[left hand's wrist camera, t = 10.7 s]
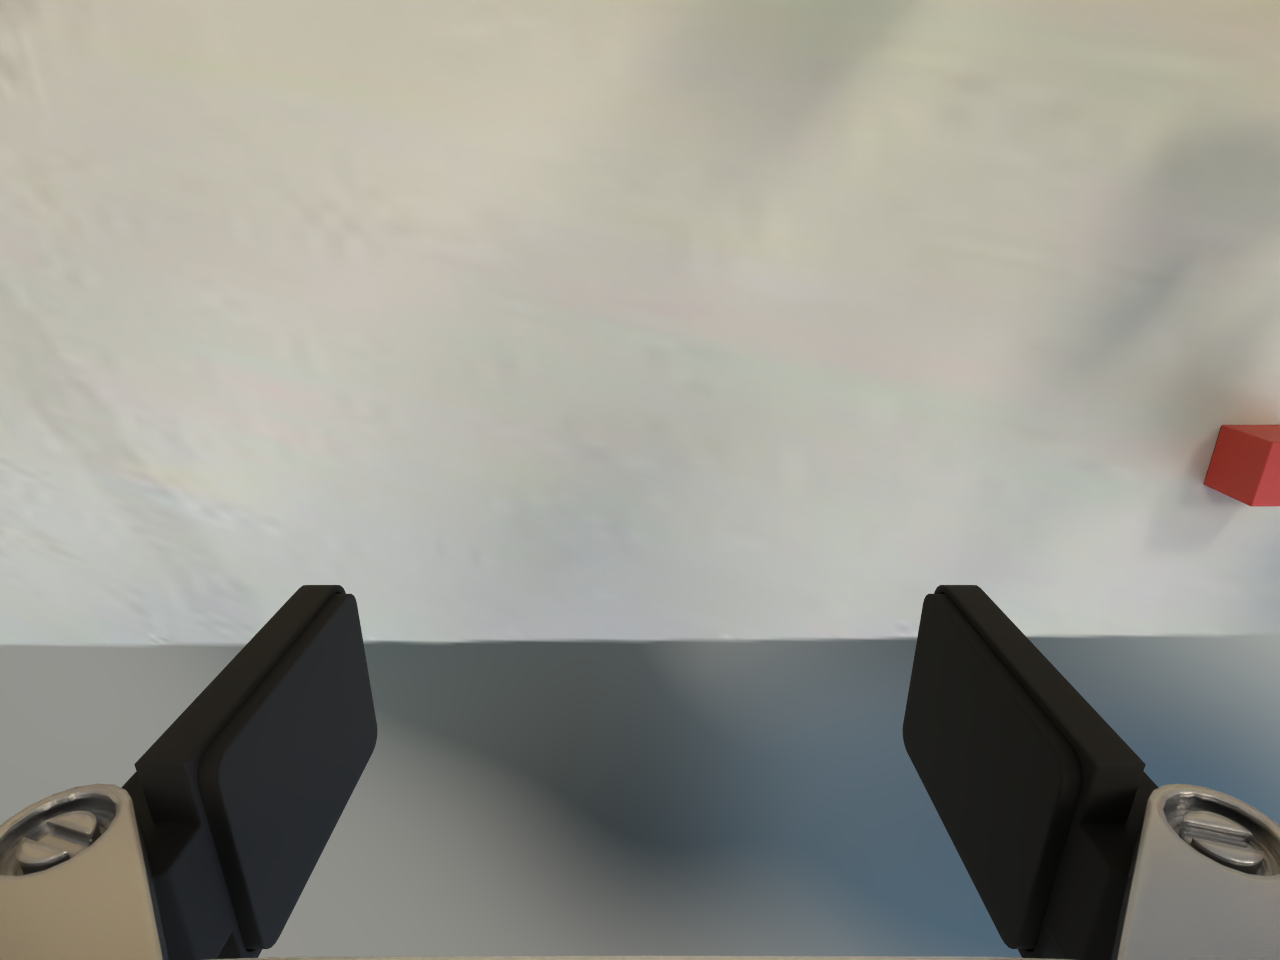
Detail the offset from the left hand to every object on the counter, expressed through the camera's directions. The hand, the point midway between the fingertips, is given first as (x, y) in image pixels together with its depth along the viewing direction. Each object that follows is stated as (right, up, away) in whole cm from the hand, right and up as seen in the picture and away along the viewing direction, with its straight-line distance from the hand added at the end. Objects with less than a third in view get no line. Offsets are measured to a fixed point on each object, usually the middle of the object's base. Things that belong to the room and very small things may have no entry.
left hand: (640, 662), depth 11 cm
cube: (+44, +5, +38) cm, 58 cm away
